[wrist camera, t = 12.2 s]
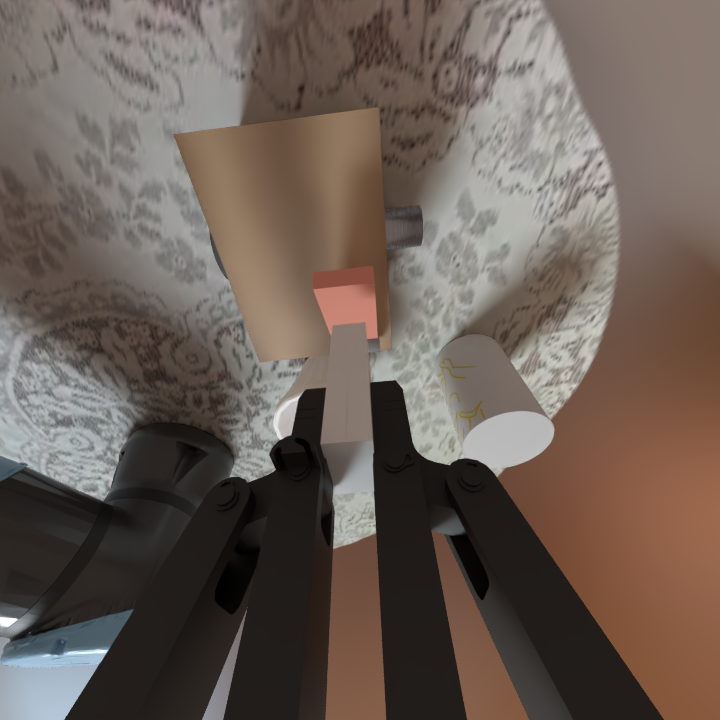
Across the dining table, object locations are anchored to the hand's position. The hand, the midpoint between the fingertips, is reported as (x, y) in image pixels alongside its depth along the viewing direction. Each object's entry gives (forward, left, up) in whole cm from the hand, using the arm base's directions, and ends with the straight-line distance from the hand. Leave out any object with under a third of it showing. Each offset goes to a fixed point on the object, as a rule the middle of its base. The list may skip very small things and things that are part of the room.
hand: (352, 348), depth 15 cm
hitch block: (-3, +2, -18) cm, 18 cm away
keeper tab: (0, -1, -5) cm, 5 cm away
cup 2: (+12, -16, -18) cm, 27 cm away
